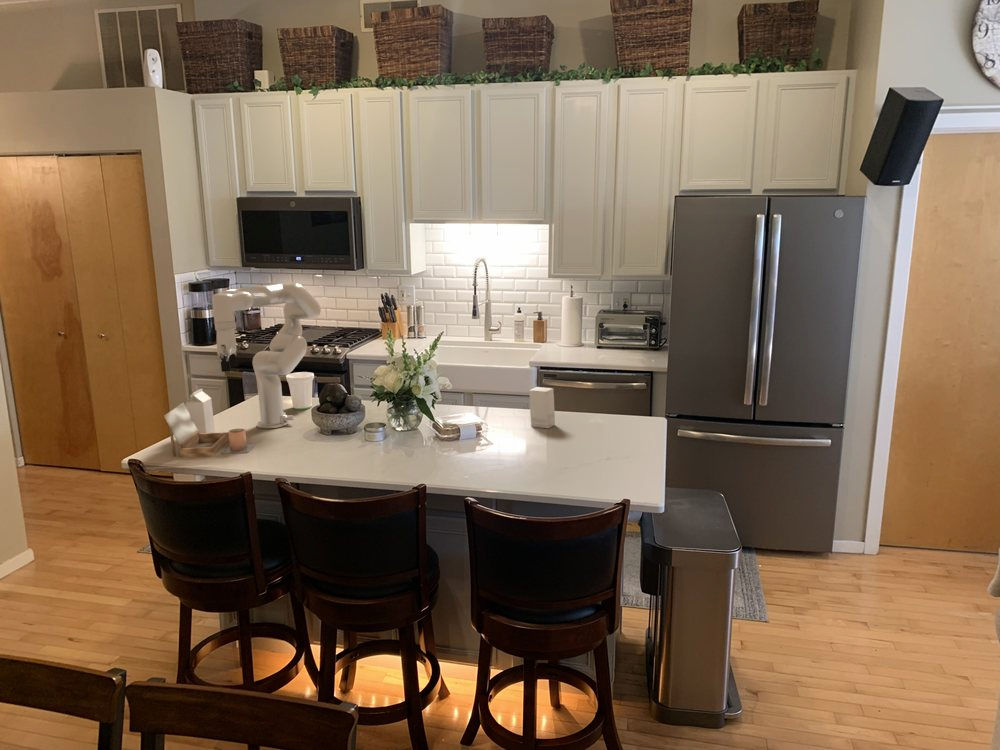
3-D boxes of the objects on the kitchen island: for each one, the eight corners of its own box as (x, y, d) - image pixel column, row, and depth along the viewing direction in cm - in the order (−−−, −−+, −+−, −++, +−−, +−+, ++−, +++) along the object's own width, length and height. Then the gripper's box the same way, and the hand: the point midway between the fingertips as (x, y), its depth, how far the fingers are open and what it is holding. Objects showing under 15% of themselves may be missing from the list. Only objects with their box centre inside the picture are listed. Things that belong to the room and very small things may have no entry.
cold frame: (229, 440, 298) (225, 400, 294) (213, 456, 278) (209, 414, 275) (187, 442, 297) (182, 402, 293) (168, 458, 278) (163, 415, 274)
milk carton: (215, 433, 308) (210, 388, 304) (206, 438, 301) (201, 392, 297) (198, 433, 309) (193, 388, 305) (190, 438, 302) (184, 392, 298)
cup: (315, 410, 341) (312, 377, 338) (286, 411, 340) (283, 378, 337) (317, 403, 353) (315, 371, 350) (290, 404, 352) (287, 372, 349)
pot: (248, 446, 289) (247, 428, 287) (244, 450, 283) (242, 432, 281) (232, 446, 288) (231, 428, 287) (227, 451, 282) (226, 432, 281)
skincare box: (555, 425, 308) (555, 388, 305) (547, 429, 303) (547, 391, 300) (537, 422, 313) (537, 386, 309) (529, 426, 307) (528, 389, 304)
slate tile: (255, 445, 291) (255, 444, 291) (248, 453, 281) (248, 452, 281) (228, 446, 290) (228, 445, 290) (221, 454, 280) (220, 453, 280)
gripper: (222, 322, 299) (226, 364, 303) (208, 329, 283) (213, 374, 286) (241, 322, 300) (245, 364, 303) (228, 328, 283) (233, 373, 287)
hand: (229, 368), depth 295 cm, fingers open, 9 cm apart
